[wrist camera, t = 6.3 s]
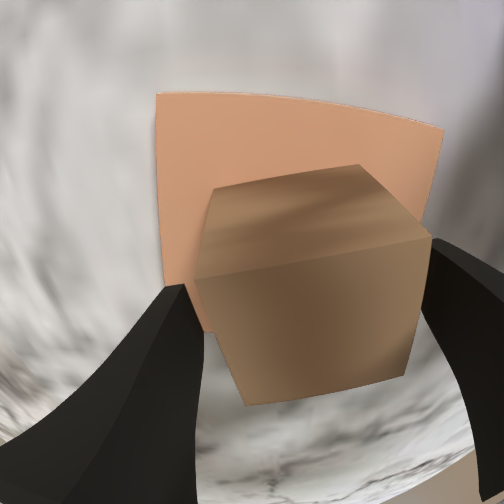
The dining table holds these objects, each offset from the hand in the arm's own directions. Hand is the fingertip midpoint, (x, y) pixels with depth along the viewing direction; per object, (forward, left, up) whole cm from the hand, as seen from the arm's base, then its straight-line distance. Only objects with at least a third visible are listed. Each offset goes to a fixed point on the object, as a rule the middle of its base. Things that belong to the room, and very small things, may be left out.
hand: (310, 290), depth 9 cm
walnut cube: (0, 0, -3) cm, 3 cm away
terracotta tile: (0, 0, -4) cm, 4 cm away
